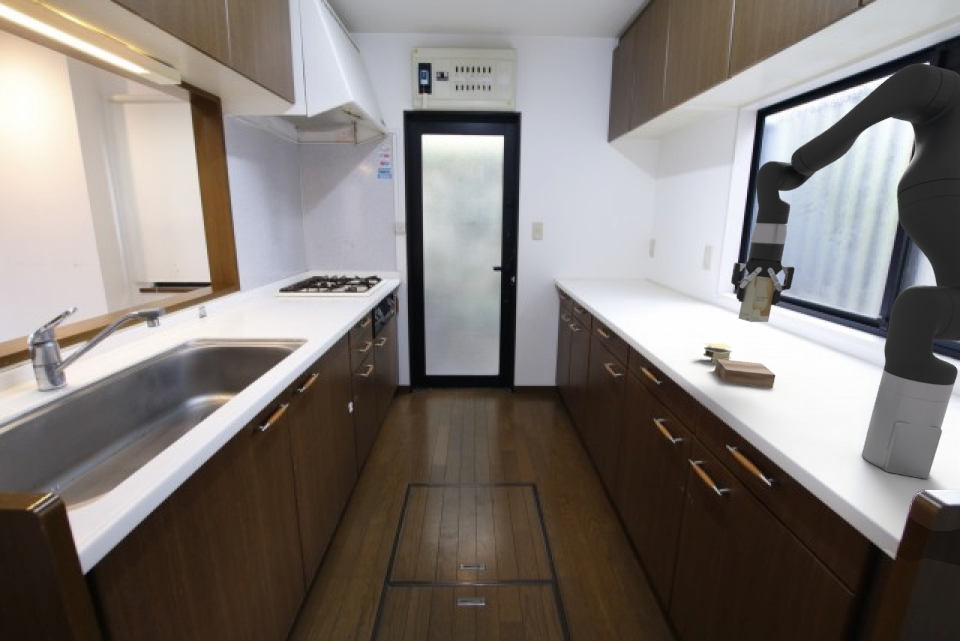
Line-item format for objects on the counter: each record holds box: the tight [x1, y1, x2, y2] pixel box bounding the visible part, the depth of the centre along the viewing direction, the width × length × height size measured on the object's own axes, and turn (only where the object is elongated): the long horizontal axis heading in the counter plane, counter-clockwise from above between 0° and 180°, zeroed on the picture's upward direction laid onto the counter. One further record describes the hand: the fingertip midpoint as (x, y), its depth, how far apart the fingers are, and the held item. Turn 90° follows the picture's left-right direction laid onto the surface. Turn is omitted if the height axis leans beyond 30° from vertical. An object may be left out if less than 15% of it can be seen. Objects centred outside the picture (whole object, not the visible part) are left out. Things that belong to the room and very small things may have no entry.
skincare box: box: [738, 274, 775, 323], centre depth 122 cm, size 6×4×12 cm
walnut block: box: [714, 359, 776, 389], centre depth 127 cm, size 10×12×4 cm
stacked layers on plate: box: [703, 342, 733, 365], centre depth 142 cm, size 10×9×6 cm
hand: (756, 302), depth 123 cm, fingers closed on skincare box, 7 cm apart
